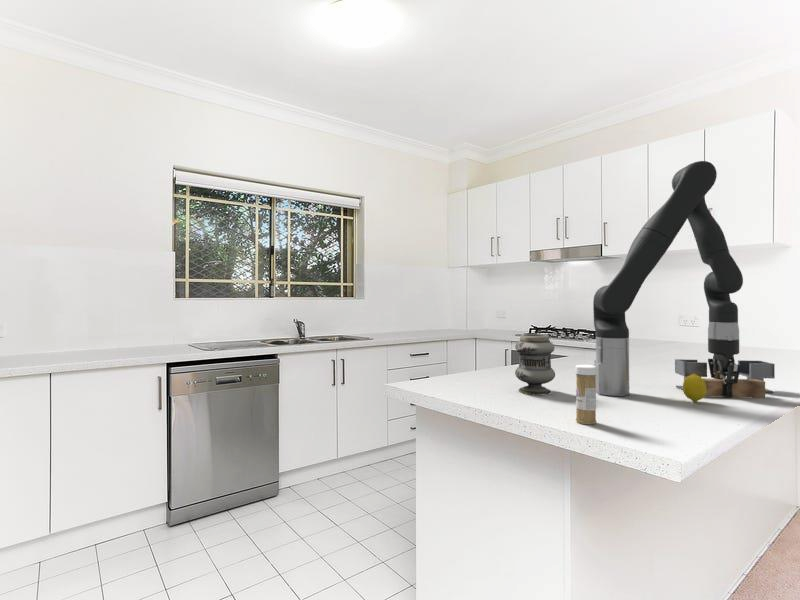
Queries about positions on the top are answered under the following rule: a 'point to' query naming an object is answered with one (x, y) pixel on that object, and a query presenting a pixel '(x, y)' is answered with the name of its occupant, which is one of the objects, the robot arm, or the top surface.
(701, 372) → the bracket stand
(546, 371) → the apothecary jar
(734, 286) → the robot arm
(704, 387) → the lemon
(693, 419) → the top surface
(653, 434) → the top surface
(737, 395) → the rail
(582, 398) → the sprinkles bottle
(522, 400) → the top surface
